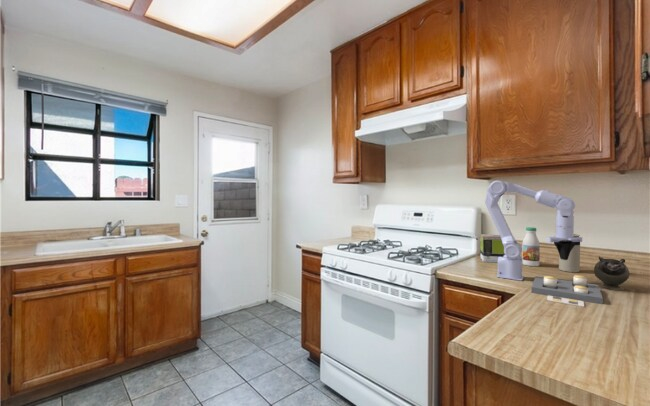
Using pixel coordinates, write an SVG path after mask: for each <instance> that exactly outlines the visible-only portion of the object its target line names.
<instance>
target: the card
mask: <svg viewBox="0 0 650 406" xmlns="http://www.w3.org/2000/svg"><path fill="white" fill-rule="evenodd" d="M546 296H547V297H546V301H549V302H553V303H560V304H564V305H570V306H571V305H572V306H577V307H581V308H582V307H583V308H584V307H585V301H581V300H575V299H569V298H562V297H556V296H550V295H546Z"/></svg>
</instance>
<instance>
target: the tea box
mask: <svg viewBox="0 0 650 406" xmlns="http://www.w3.org/2000/svg"><path fill="white" fill-rule="evenodd" d="M479 239H480V243H479V244H480V246H479V247H480V254H479V255H480V256H479V257H480V260H481V259H482V260H481V261H482V262H483V263H494V264H495V263H496V264H498V257H503V256H504V255H505V253H504V245H503V243H502V239H501V237H500V234H484V233H483V234H482V233H481V234H480V237H479Z"/></svg>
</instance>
